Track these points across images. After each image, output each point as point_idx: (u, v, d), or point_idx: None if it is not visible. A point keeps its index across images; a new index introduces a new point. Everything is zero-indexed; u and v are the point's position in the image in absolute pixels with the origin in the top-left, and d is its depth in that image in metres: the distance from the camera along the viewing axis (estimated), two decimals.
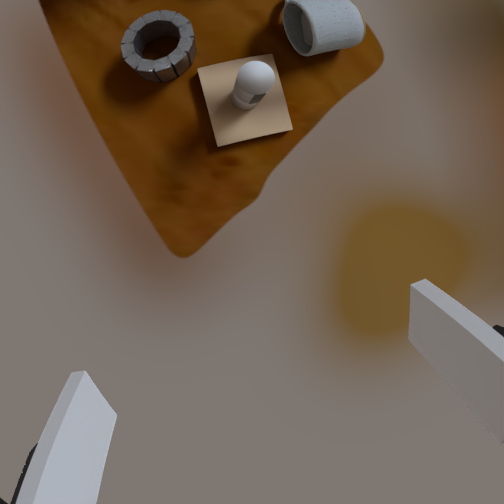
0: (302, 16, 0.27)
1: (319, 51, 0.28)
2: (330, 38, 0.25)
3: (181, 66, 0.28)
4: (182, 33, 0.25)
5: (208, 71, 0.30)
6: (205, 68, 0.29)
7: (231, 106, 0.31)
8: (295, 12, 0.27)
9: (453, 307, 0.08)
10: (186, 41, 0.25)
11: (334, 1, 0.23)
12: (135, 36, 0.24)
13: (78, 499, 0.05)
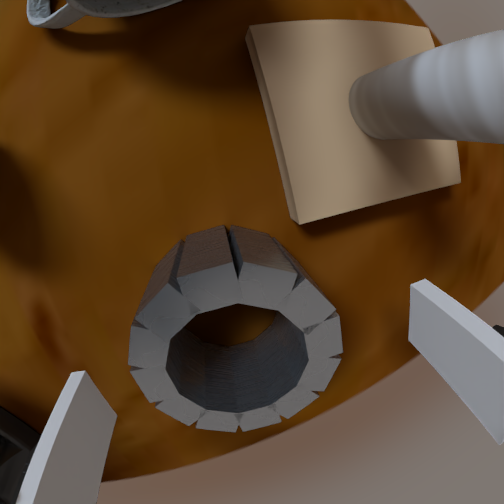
0: None
1: None
2: None
3: (305, 272, 0.12)
4: (222, 299, 0.09)
5: (310, 194, 0.12)
6: (300, 202, 0.12)
7: (398, 142, 0.12)
8: None
9: (453, 307, 0.08)
10: (256, 284, 0.09)
11: None
12: (219, 408, 0.11)
13: (78, 499, 0.05)
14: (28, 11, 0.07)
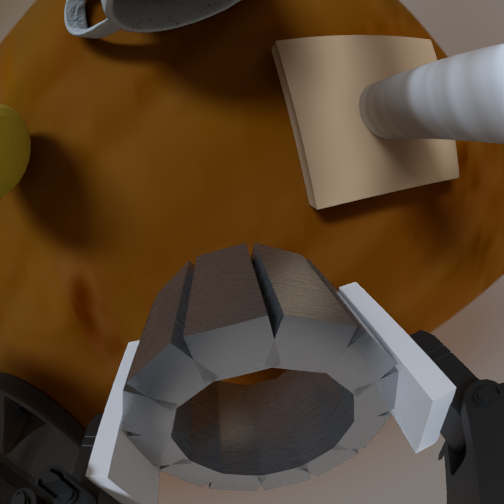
0: None
1: None
2: None
3: (352, 310, 0.09)
4: (250, 364, 0.06)
5: (326, 184, 0.14)
6: (318, 191, 0.15)
7: (402, 141, 0.14)
8: (128, 7, 0.10)
9: (373, 310, 0.09)
10: (300, 343, 0.06)
11: None
12: (238, 471, 0.08)
13: (145, 467, 0.07)
14: (66, 21, 0.10)
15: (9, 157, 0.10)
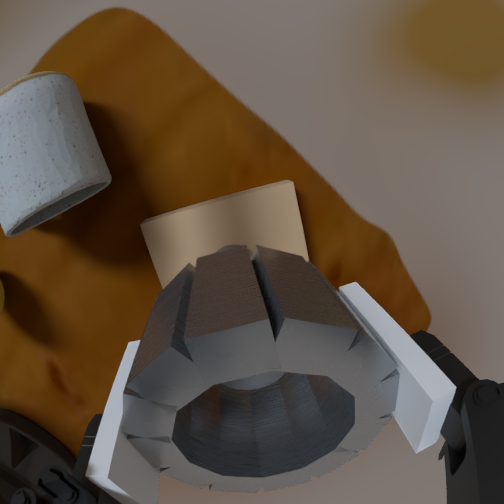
0: None
1: (96, 161, 0.14)
2: (62, 152, 0.12)
3: (354, 312, 0.09)
4: (250, 367, 0.06)
5: None
6: None
7: None
8: None
9: (373, 310, 0.09)
10: (301, 346, 0.06)
11: None
12: (238, 473, 0.08)
13: (145, 467, 0.07)
14: None
15: None
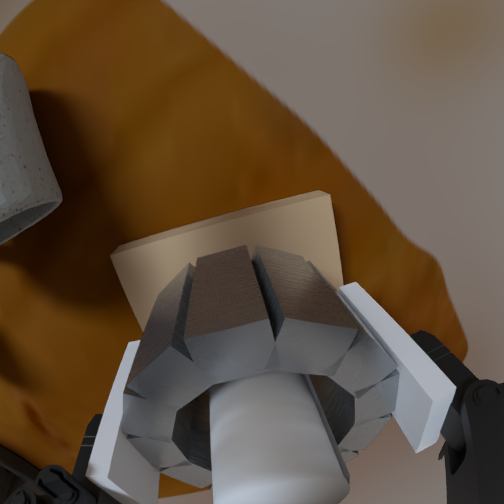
0: None
1: (32, 173, 0.08)
2: None
3: (353, 312, 0.09)
4: (250, 367, 0.06)
5: None
6: None
7: None
8: None
9: (373, 310, 0.09)
10: (301, 346, 0.06)
11: None
12: None
13: (145, 467, 0.07)
14: None
15: None
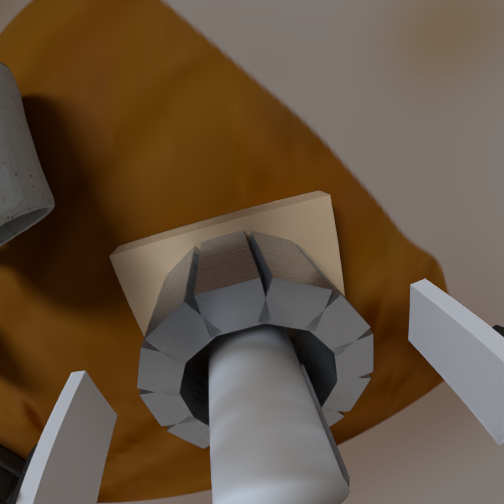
0: None
1: (23, 181, 0.08)
2: None
3: (334, 285, 0.11)
4: (246, 319, 0.08)
5: None
6: None
7: None
8: None
9: (453, 307, 0.08)
10: (286, 302, 0.08)
11: None
12: None
13: (78, 499, 0.05)
14: None
15: None
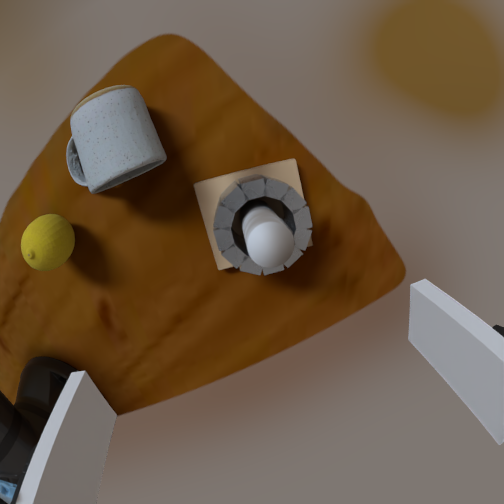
0: None
1: (160, 146, 0.23)
2: (140, 139, 0.21)
3: None
4: (258, 194, 0.23)
5: (222, 257, 0.30)
6: (218, 261, 0.30)
7: None
8: None
9: (453, 307, 0.08)
10: (272, 188, 0.23)
11: (80, 137, 0.20)
12: None
13: (78, 499, 0.05)
14: (69, 170, 0.26)
15: (68, 248, 0.25)
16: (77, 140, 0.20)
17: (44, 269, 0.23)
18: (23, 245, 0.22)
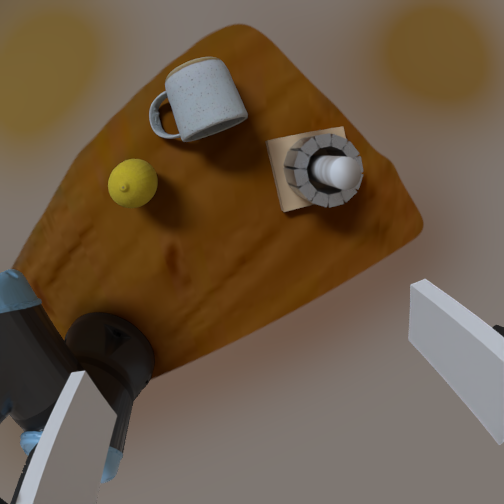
0: None
1: (244, 107, 0.30)
2: (234, 98, 0.27)
3: None
4: (326, 144, 0.30)
5: (287, 201, 0.36)
6: (284, 204, 0.36)
7: None
8: None
9: (453, 307, 0.08)
10: (336, 140, 0.30)
11: (182, 91, 0.26)
12: (321, 192, 0.31)
13: (78, 499, 0.05)
14: (152, 125, 0.32)
15: (155, 187, 0.31)
16: (178, 94, 0.26)
17: (132, 204, 0.29)
18: (115, 180, 0.28)
